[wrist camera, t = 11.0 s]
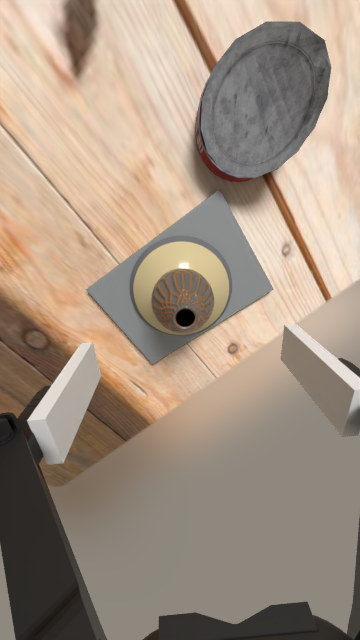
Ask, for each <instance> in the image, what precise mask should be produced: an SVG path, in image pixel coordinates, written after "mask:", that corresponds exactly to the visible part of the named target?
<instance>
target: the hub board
mask: <svg viewBox="0 0 360 640" xmlns="http://www.w3.org/2000/svg"><path fill="white" fill-rule="evenodd" d="M178 268H187V269H191V270H194V271H196V272H198V273H200V274H201V275H202V276H203V277H204V278H205V279H206V280H207V281H208V282H209V284H210V286H211V288H212V290H213V294H214V308H213V311H212V314H211V316H210V318H209V320H208V321H207V322H206V323H205V325H203V326H202V327H201V328H200V329H198V330H196V331H194V332H190V333H176V332H173V331H170V330H168V329H166V328H165V327H164V326H163V325H161V324H160V322H159V321H158V320H157V318H156V317H155V315H154V313H153V310H152V304H151V297H152V292H153V289H154V286H155V284H156V283H157V281H158V280H159V279H160V278H161V277H162V276H163V275H164V274H165V273H167V272H169V271H171V270H174V269H178ZM86 290H87V291H88V293H89V294H90V295H91V296H92V297H93V298H94V299H95V300H96V302H97V303H98V304H99V305H100V306H101V307H102V308H103V309H104V311H105V312H106V313H107V314H108V315H109V316H110V317H111V318H112V320H113V321H114V322H115V323H116V324H117V325H118V326H119V327H120V329H121V330H122V331H123V332H124V333H125V334H126V335H127V336H128V338H129V339H130V340H131V341H132V342H133V343H134V344H135V345H136V347H137V348H138V349H139V350H140V351H141V352H142V353H143V354H144V356H145V357H146V358H147V359H148V360H149V361H150V362H151V363H152V364H154V363H155V362H157V361H159V360H160V359H162V358H164V357H165V356H167V355H168V354H170V353H172V352H173V351H175V350H176V349H178V348H180V347H181V346H183V345H184V344H186V343H188V342H189V341H191V340H193V339H194V338H196V337H197V336H199V335H201V334H202V333H204V332H205V331H207V330H209V329H210V328H212V327H213V326H215V325H217V324H218V323H220V322H222V321H223V320H225V319H226V318H228V317H230V316H231V315H233V314H234V313H236V312H238V311H239V310H241V309H242V308H244V307H246V306H247V305H249V304H250V303H252V302H254V301H255V300H257V299H259V298H260V297H262V296H263V295H265V294H267V293H268V292H270V291H271V290H273V287H272V285H271V284H270V282H269V280H268V278H267V276H266V274H265V272H264V271H263V269H262V267H261V265H260V263H259V261H258V260H257V258H256V256H255V254H254V252H253V250H252V248H251V247H250V245H249V243H248V241H247V239H246V237H245V236H244V234H243V232H242V230H241V228H240V226H239V225H238V223H237V221H236V219H235V217H234V215H233V213H232V212H231V210H230V208H229V206H228V204H227V202H226V201H225V199H224V197H223V195H222V193H221V191H220V190H218V191H217V192H215V193H214V194H213V195H211V196H210V197H209V198H207V199H206V200H205V201H203V202H202V203H201V204H199V205H198V206H197V207H195V208H194V209H193V210H191V211H190V212H189V213H187V214H186V215H185V216H183V217H182V218H181V219H179V220H178V221H177V222H175V223H174V224H173V225H171V226H170V227H169V228H167V229H166V230H165V231H163V232H162V233H161V234H159V235H158V236H157V237H155V238H154V239H153V240H151V241H150V242H149V243H147V244H146V245H145V246H143V247H142V248H141V249H139V250H138V251H137V252H135V253H134V254H133V255H131V256H130V257H129V258H127V259H126V260H125V261H123V262H122V263H121V264H119V265H118V266H117V267H115V268H114V269H113V270H111V271H110V272H109V273H107V274H106V275H105V276H103V277H102V278H101V279H99V280H98V281H97V282H95V283H94V284H93V285H91V286H90V287H89V288H88V289H86Z"/></svg>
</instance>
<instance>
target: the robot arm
mask: <svg viewBox="0 0 360 640" xmlns="http://www.w3.org/2000/svg"><path fill="white" fill-rule="evenodd" d="M281 360H282V361H283V363H284V364H285V365H286V366H287V368H288V369H289V370H290V372H291V373H292V374H293V375H294V377H295V378H296V379H297V380H298V381H299V383H300V384H301V385H302V387H303V388H304V389H305V391H306V392H307V393H308V394H309V396H310V397H311V398H312V399H313V401H314V402H315V403H316V404H317V406H318V407H319V408H320V409H321V411H322V412H323V413H324V414H325V416H326V417H327V418H328V419H329V421H330V422H331V423H332V425H333V426H334V427H335V429H336V430H337V431H338V432H339V434H340V435H341V436H342V437H345V436H356V435H358V434H359V431H360V370H359V368H357V367H356V366H355V365H354V364H352V363H351V362H349V361H347V360H344V359H342V358H339V359H337V358H336V357H334V356H333V355H332V354H330V353H329V352H328V351H327V350H326V349H325V348H323V347H322V346H321V345H320V344H319V343H318V342H316V341H315V340H314V339H313V338H312V337H310V336H309V335H308V334H307V333H306V332H305V331H303V330H302V329H301V328H300V327H299V326H297V325H296V324H290V325H284V334H283V344H282V352H281ZM100 377H101V373H100V369H99V366H98V362H97V358H96V354H95V350H94V347H93V343H81V344H80V346H79V347H78V349H77V350H76V352H75V353H74V354H73V356H72V357H71V359H70V360H69V362H68V363H67V364H66V366H65V367H64V369H63V370H62V372H61V373H60V374H59V376H58V377H57V379H56V380H55V382H54V383H53V384H52V386H45V387H44V388H42V389H41V390H40V391H39V392H37V393H36V395H35V396H34V397H33V399H32V401H30V403H29V404H28V405H27V407H26V408H25V409H24V411H23V412H22V413H21V415H20V416H19V417H18V419H17V418H16V416H15V415H14V414H13V413H9V412H7V413H2V414H0V544H1V550H2V556H3V563H4V569H5V575H6V582H7V588H8V594H9V600H10V607H11V613H12V619H13V625H14V632H15V638H16V640H107V638H106V636H105V634H104V631H103V629H102V627H101V624H100V621H99V619H98V616H97V614H96V611H95V608H94V606H93V603H92V601H91V598H90V595H89V593H88V590H87V588H86V585H85V583H84V580H83V577H82V575H81V572H80V569H79V567H78V564H77V562H76V559H75V557H74V554H73V552H72V549H71V546H70V543H69V541H68V538H67V536H66V533H65V531H64V528H63V525H62V523H61V520H60V518H59V515H58V512H57V510H56V507H55V505H54V502H53V500H52V497H51V494H50V492H49V489H48V486H47V484H46V481H45V479H44V476H43V473H42V471H41V468H40V466H39V463H40V461H41V459H42V457H44V459H45V461H46V463H47V465H48V464H59V463H64V461H65V458H66V456H67V454H68V451H69V449H70V447H71V444H72V442H73V440H74V437H75V435H76V433H77V430H78V428H79V426H80V424H81V421H82V419H83V417H84V414H85V412H86V410H87V407H88V405H89V403H90V400H91V398H92V396H93V393H94V391H95V389H96V386H97V384H98V382H99V380H100ZM143 640H360V519H359V532H358V545H357V557H356V569H355V582H354V595H353V604H352V610H351V615H350V619H349V624H348V631H347V634H346V633H344V632H343V631H342V630H340V629H339V628H337V627H336V626H334V625H333V624H331V623H329V622H328V621H326V620H324V619H322V618H319V617H317V616H314V615H312V613H311V610H310V608H309V605H308V602H299V603H289V604H279V605H271V606H269V607H267V608H265V609H264V610H262V611H260V612H258V613H257V614H255V615H253V616H251V617H250V618H248V619H246V620H245V621H242V622H241V623H239V624H231V623H227V622H224V621H221V620H218V619H214V618H211V617H208V616H205V615H201V614H198V613H187V614H177V615H167V616H159V629H158V630H156V631H154V632H152V633H151V634H149V635H148V636H147V637H145V638H144V639H143Z"/></svg>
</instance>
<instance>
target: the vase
mask: <svg viewBox="0 0 360 640" xmlns="http://www.w3.org/2000/svg"><path fill="white" fill-rule="evenodd" d="M151 304H152V310H153V313H154V315H155V317H156V318H157V320H158V321H159V322H160V324H161V325H163V326H164V327H165V328H166V329H168V330H170V331H173V332H176V333H190V332H194V331H196V330H198V329H200V328H201V327H202V326H203V325H205V323H206V322H207V321H208V320H209V318H210V316H211V314H212V311H213V308H214V294H213V290H212V288H211V286H210V284H209V282H208V281H207V280H206V279H205V278H204V277H203V276H202V275H201V274H200V273H198V272H196V271H194V270H191V269H187V268H178V269H174V270H171V271H169V272H167V273H165V274H164V275H163V276H162V277H161V278H160V279H159V280H158V281H157V283H156V284H155V286H154V289H153V292H152V297H151Z"/></svg>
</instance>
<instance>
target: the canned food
mask: <svg viewBox="0 0 360 640" xmlns="http://www.w3.org/2000/svg"><path fill="white" fill-rule="evenodd" d="M330 73H331V64H330V60H329V56H328V52H327V48H326V44H325V40H324V39H322V38H321V37H320V36H318V35H317V34H315V33H314V32H313V31H311V30H310V29H309V28H307V27H306V26H305V25H303V24H302V23H301V22H265V23H263V24H261V25H260V26H258V27H256V28H255V29H253V30H251V31H249V32H248V33H246V34H244V35H243V36H241V37H239V38H237V39H236V40H235V41H234V42H233V43H232V45H231V46H230V47H229V49H228V50H227V51H226V52H225V54H224V55H223V56H222V58H221V59H220V60H219V61H218V63H217V64H216V65H215V67H214V68H213V70H212V73H211V75H210V77H209V79H208V80H207V82H206V84H205V87H204V89H203V92H202V95H201V99H200V104H199V108H198V112H197V117H196V126H195V133H196V142H197V146H198V150H199V153H200V155H201V157H202V159H203V161H204V163H205V164H206V165H207V167H208V168H209V169H210V170H211V171H212V172H213V173H214V174H215V175H217V176H219V177H221V178H222V179H225V180H228V181H235V182H241V181H247V180H250V179H252V178H257V177H259V176H262V175H264V174H266V173H268V172H271V171H273V170H276V169H278V168H279V167H280V166H281V165H282V164H283V163H285V162H286V161H287V160H288V159H289V158H290V157H292V156H293V155H294V154H295V153H297V152H298V150H299V149H300V147H301V146H302V144H303V143H304V141H305V140H306V138H307V137H308V136H309V134H310V133H311V132H312V130H313V129H314V128H315V126H316V123H317V120H318V118H319V115H320V113H321V111H322V108H323V106H324V104H325V102H326V100H327V95H328V87H329V79H330Z"/></svg>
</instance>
